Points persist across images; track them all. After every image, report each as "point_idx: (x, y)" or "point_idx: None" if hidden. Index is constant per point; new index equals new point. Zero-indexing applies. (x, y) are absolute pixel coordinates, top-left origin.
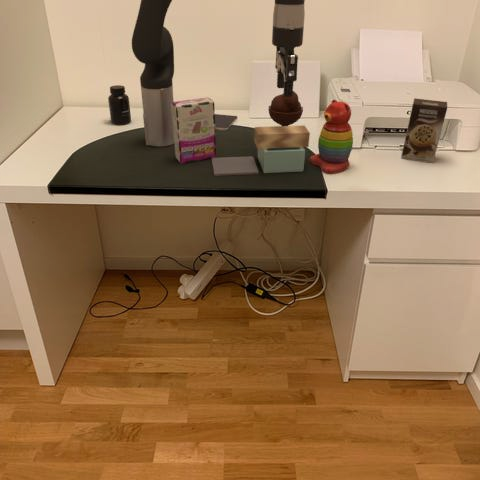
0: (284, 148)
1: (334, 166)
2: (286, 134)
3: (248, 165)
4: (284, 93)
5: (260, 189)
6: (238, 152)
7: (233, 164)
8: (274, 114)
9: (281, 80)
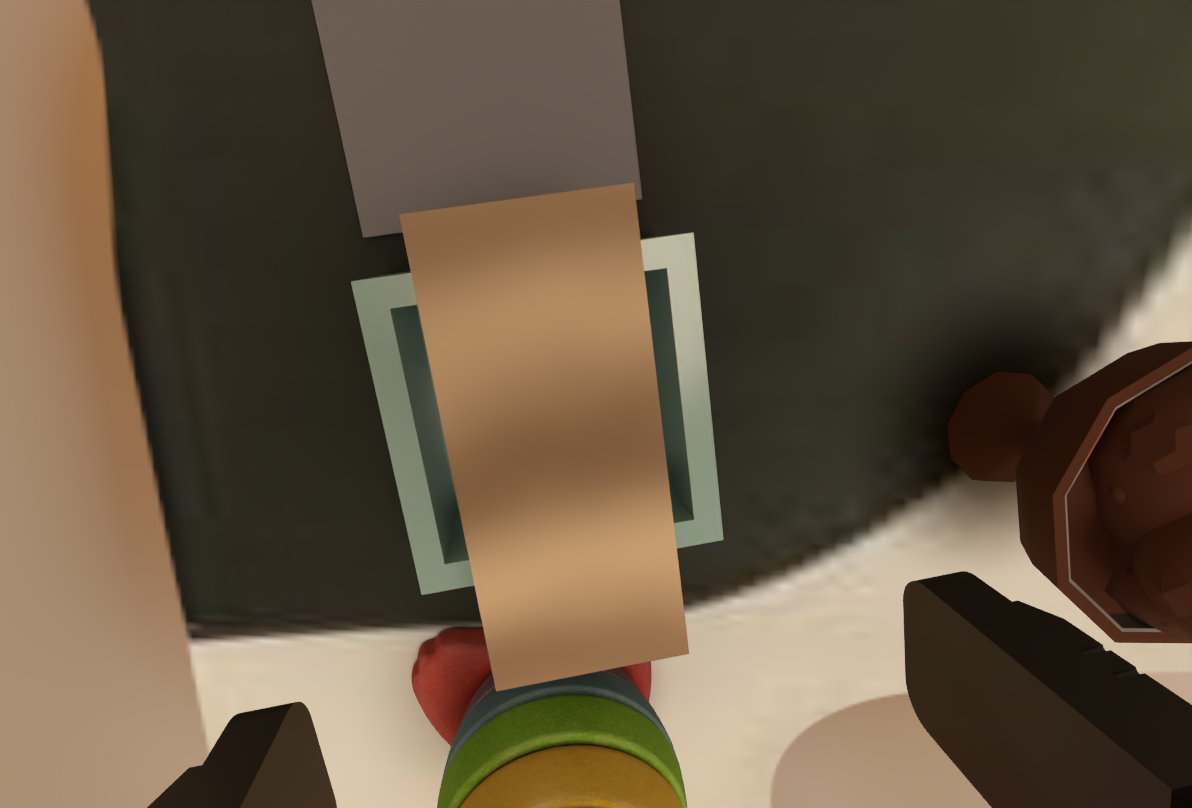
0: (667, 432)
1: (435, 714)
2: (456, 494)
3: (471, 162)
4: (207, 762)
5: (116, 244)
6: (747, 91)
7: (481, 43)
8: (1094, 393)
9: (1012, 742)
